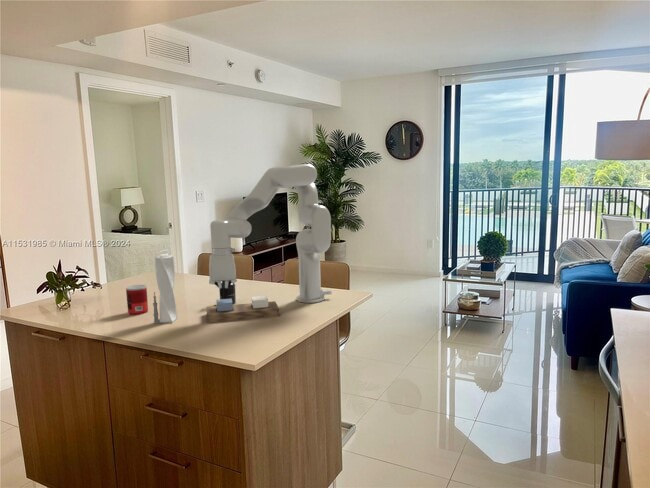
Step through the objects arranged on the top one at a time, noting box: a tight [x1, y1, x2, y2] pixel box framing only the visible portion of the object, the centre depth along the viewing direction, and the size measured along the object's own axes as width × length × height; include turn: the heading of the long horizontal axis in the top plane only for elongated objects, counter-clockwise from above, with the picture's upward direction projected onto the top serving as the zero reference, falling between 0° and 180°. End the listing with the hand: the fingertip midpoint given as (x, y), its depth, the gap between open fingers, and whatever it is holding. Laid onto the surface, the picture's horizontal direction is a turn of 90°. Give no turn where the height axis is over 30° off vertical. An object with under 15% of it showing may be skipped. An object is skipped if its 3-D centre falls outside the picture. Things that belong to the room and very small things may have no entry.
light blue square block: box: [216, 299, 234, 312], centre depth 190 cm, size 6×6×3 cm
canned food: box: [125, 284, 149, 316], centre depth 199 cm, size 8×8×11 cm
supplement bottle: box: [219, 281, 237, 305], centre depth 209 cm, size 7×7×12 cm
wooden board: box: [206, 301, 281, 324], centre depth 192 cm, size 28×12×3 cm, turn 104°
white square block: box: [251, 295, 269, 308], centre depth 193 cm, size 6×6×3 cm
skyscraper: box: [152, 249, 178, 325], centre depth 185 cm, size 8×8×28 cm
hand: (223, 297), depth 189 cm, fingers closed
